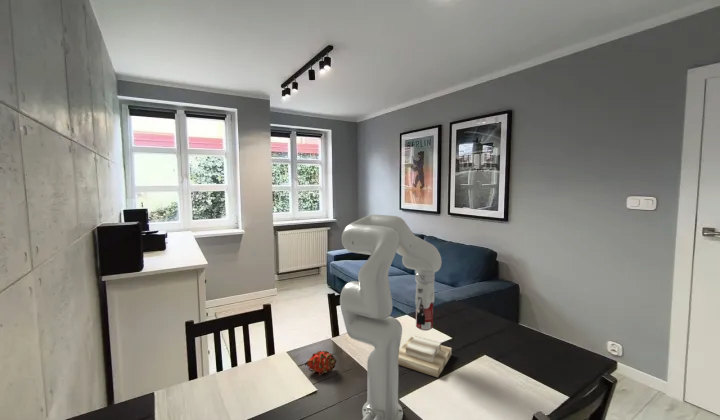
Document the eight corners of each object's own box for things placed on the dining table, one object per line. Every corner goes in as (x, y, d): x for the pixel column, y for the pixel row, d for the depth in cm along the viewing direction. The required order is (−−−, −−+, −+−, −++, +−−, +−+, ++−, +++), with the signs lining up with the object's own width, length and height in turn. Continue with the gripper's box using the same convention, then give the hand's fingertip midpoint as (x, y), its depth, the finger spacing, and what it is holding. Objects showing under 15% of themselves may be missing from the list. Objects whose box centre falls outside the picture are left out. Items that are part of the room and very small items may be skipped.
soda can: (432, 332, 123) (433, 303, 122) (415, 330, 125) (415, 301, 124) (432, 324, 130) (433, 296, 129) (415, 323, 131) (416, 295, 130)
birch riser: (437, 377, 116) (438, 362, 115) (393, 362, 125) (393, 348, 125) (451, 354, 131) (451, 341, 131) (411, 343, 141) (411, 330, 140)
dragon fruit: (339, 376, 119) (307, 381, 119) (337, 354, 125) (307, 359, 125) (335, 367, 113) (302, 372, 113) (334, 344, 120) (303, 349, 120)
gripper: (426, 285, 116) (425, 331, 118) (440, 273, 131) (439, 314, 132) (407, 281, 120) (406, 326, 122) (423, 270, 135) (422, 310, 136)
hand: (424, 320), depth 127 cm, fingers closed on soda can, 6 cm apart
